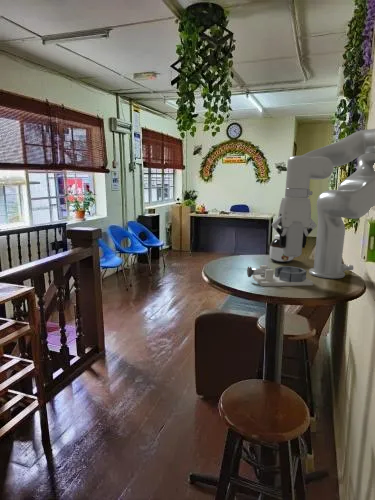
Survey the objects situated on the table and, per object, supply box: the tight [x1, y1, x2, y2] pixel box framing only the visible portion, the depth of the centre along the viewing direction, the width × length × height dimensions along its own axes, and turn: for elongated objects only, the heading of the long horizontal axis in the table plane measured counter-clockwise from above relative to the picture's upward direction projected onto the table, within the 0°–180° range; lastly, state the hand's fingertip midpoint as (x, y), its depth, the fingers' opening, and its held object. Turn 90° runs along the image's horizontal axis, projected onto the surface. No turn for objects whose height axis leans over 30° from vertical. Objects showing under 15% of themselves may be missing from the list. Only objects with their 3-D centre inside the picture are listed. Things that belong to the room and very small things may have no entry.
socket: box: [274, 265, 308, 282], centre depth 120 cm, size 10×10×3 cm
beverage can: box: [282, 222, 304, 258], centre depth 118 cm, size 6×6×12 cm
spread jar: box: [269, 234, 296, 264], centre depth 151 cm, size 12×11×12 cm
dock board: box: [251, 264, 314, 287], centre depth 120 cm, size 18×10×5 cm, turn 97°
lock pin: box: [246, 266, 271, 278], centre depth 119 cm, size 8×4×4 cm, turn 97°
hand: (292, 246), depth 118 cm, fingers closed on beverage can, 6 cm apart
